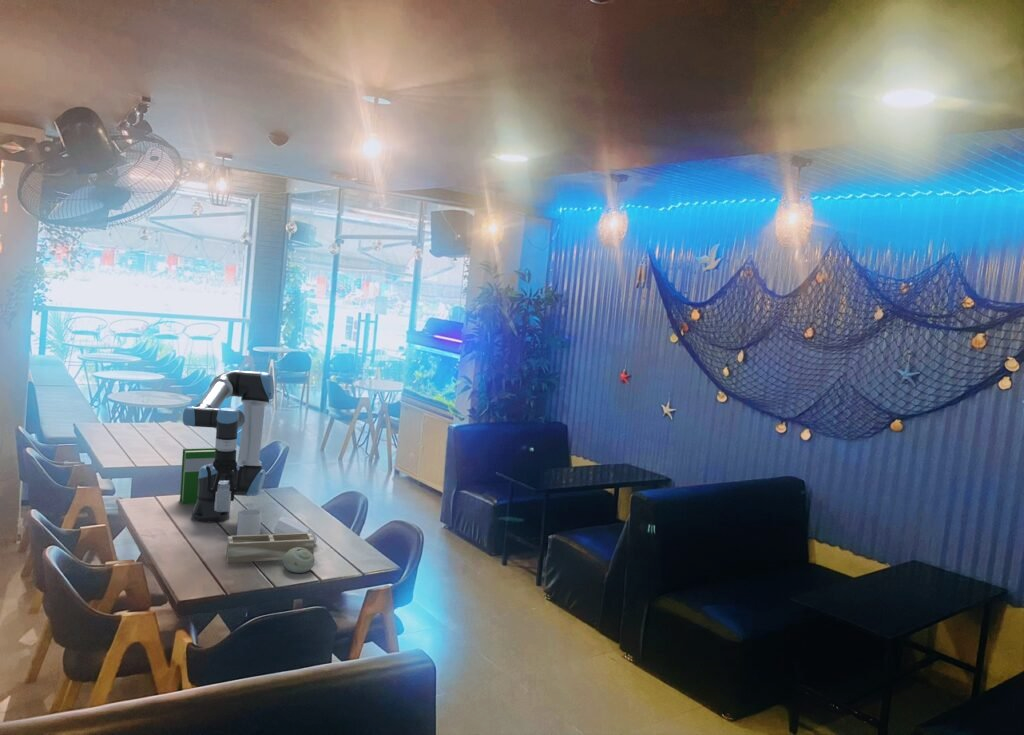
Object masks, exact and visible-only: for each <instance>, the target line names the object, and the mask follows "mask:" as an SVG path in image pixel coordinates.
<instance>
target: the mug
mask: <svg viewBox="0 0 1024 735" xmlns="http://www.w3.org/2000/svg"><path fill="white" fill-rule="evenodd" d="M261 524H262V511H261V510H259V509H254V508H247V509H246V508H245V509H241V510H239V511H238V512H237V522H236V535H259V534H261V528H262V526H261Z"/></svg>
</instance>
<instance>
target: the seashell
mask: <svg viewBox="0 0 1024 735" xmlns="http://www.w3.org/2000/svg"><path fill="white" fill-rule="evenodd" d="M315 561H316V559H315V556H314V554H312V553H311V552H309V551H308V550H307V549H305V548H301V547H296V548H293V549H291V550H289V551H288V552H287V553H286V554H285V556H284V559H283V560H282V562H283V563H282V564H283V565H284V568H286V570H288V571H289V572H291V573H295V574H302V573H304V574H305V573H306V572H308V571H310V570H311V569H312V568H313V567H314V565H315Z"/></svg>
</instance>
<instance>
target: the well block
mask: <svg viewBox="0 0 1024 735" xmlns="http://www.w3.org/2000/svg"><path fill="white" fill-rule="evenodd" d="M226 543H227V544H226V560H227V563H231V564H232V563H233V564H234V563H248V562H249V563H251V562H266V561H267V562H268V561H269V562H270V561H283V559H284V556H285V554H286V553H287V552H288V551H289V550H291V549H293V548H296V547H301V548H305V549H307V550H308V551H309V552H311V553H312V554H313V555H314V553H315V544H314V538H313V536H312V534H311V532H308V533H284V534H276V533H267V534H266V533H264V534H263V533H262V534H261V533H260V534H259V535H237V534H236V535H227V542H226Z"/></svg>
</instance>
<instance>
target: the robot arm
mask: <svg viewBox="0 0 1024 735" xmlns="http://www.w3.org/2000/svg"><path fill="white" fill-rule="evenodd" d="M273 378H274V377H273V376H272V374H271V373H270V372H265V371H254V370H253V371H252V370H239V369H235V370H230V371H226V372H223V373H221V374H220V375H219V374H218V376H216V377H215V378H214V379H213V380H212V381H211V382H210V384H209V388H208V390H207V391H206V392H205V394H204V395H203V396H202V397H201V398H200V400H199V401H198V403H197V404H196V405H195V406H193V405H192V406H186V407H185V408H184V409H183V411H182V412H183V413H182V424H183V425H184V426H186V427H196V428H197V427H199V428H213V429H216V432H215V447H214V448H216V450H215V460H214V462H213V464H208V465H205V466H202V467H201V468H200V470H199V476H198V496H197V502H196V504H194V507H193V509H192V512H191V519H192V520H193V521H195V522H200V523H218V522H223V521H226V520H228V519H229V518H230V516H231V515H230V514H231V512H230V511H231V502H234V500H235V496H244V497H257V496H258V495H259V494H260V493H261V491H262V489H263V486H264V483H265V479H266V470H265V469H262V468H263V464H262V463H261V462H260V457H261V456H260V455H261V454H260V453H261V445H262V436H263V428H264V427H263V426H264V416H265V411H266V410H265V409H266V407H267V405H269V404H270V400H272V399H274V394H275V385H274V379H273ZM230 397H238V398H240V401H241V403H242V404H243V409H241V408H238V407H236V408H234V407H223V408H220V407H221V405H222V404H223V402H224V401H225V400H226V399H229V398H230ZM239 428H241V432H240V441H239V450H238V458H237V448H238V433H239V432H238V430H239ZM226 480H229V482H230V489H229V505H228V512H217V498H218V492H217V490H218V483H219V481H226Z"/></svg>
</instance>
